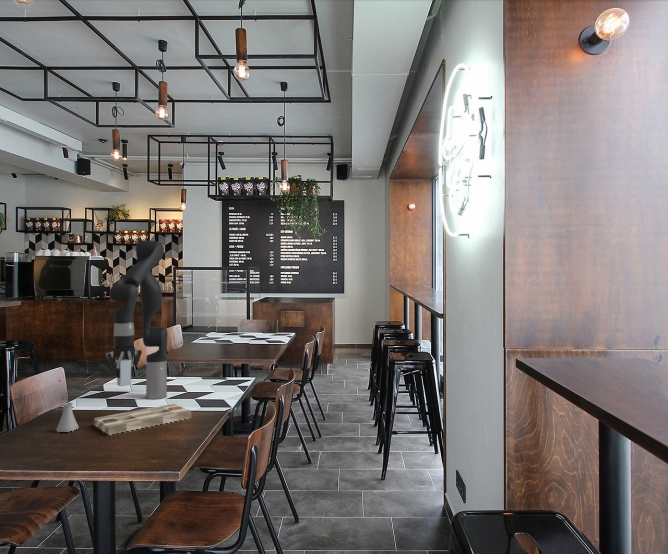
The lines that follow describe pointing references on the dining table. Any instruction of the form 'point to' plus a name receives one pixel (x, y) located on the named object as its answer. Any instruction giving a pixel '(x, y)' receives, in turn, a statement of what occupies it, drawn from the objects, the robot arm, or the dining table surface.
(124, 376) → the plug
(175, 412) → the socket block
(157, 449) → the dining table surface
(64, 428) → the flask
